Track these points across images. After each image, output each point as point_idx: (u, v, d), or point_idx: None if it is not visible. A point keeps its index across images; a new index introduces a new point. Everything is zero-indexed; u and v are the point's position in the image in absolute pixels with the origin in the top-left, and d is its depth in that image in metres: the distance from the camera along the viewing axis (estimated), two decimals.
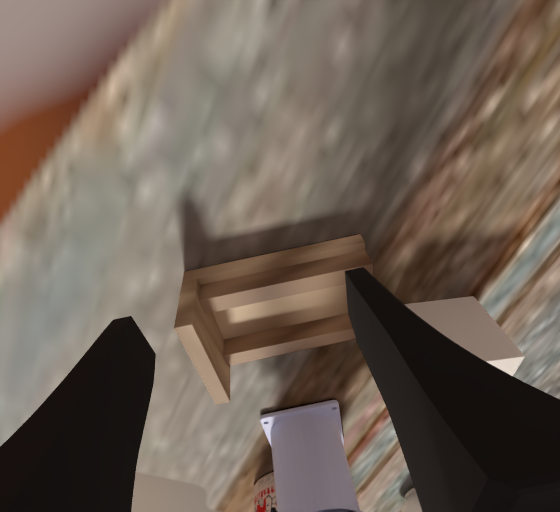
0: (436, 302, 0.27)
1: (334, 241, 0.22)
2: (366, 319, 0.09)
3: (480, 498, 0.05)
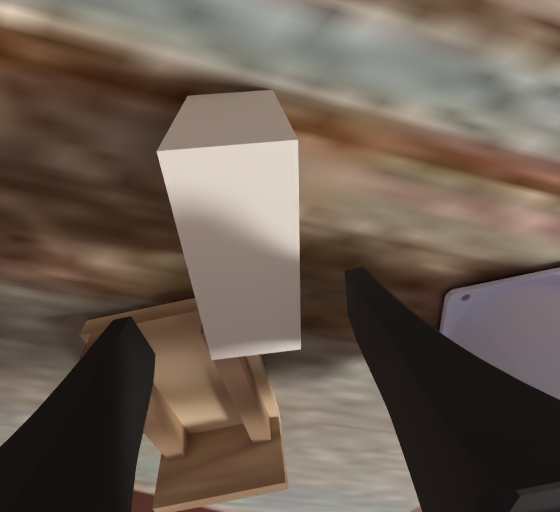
0: None
1: None
2: (366, 319, 0.09)
3: (480, 498, 0.05)
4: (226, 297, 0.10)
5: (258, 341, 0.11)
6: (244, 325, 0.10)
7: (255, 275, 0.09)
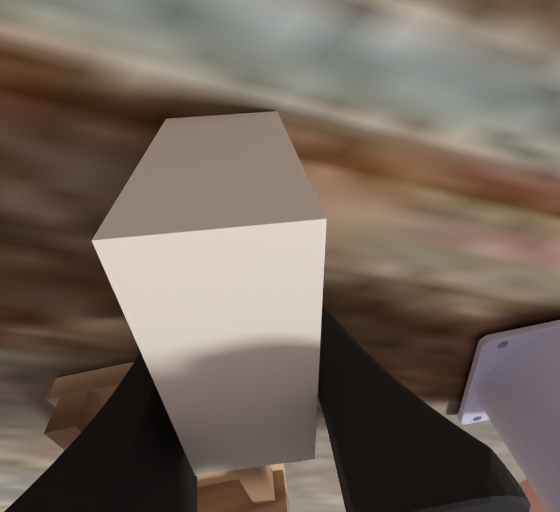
0: None
1: None
2: None
3: None
4: (213, 413, 0.07)
5: (257, 455, 0.08)
6: (239, 440, 0.08)
7: (254, 388, 0.06)
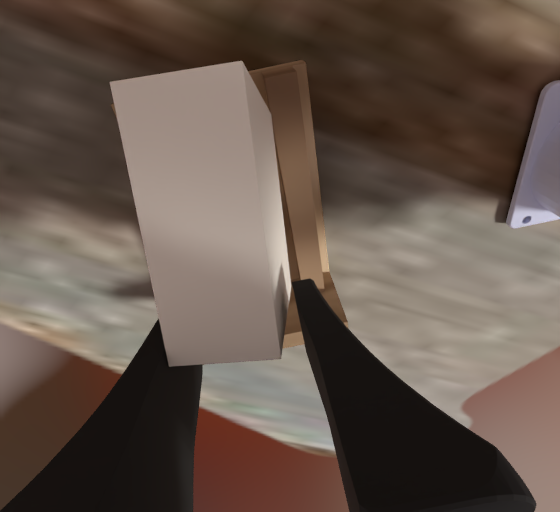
0: None
1: None
2: (305, 332, 0.09)
3: None
4: (182, 265, 0.08)
5: (223, 339, 0.09)
6: (205, 311, 0.09)
7: (212, 233, 0.08)
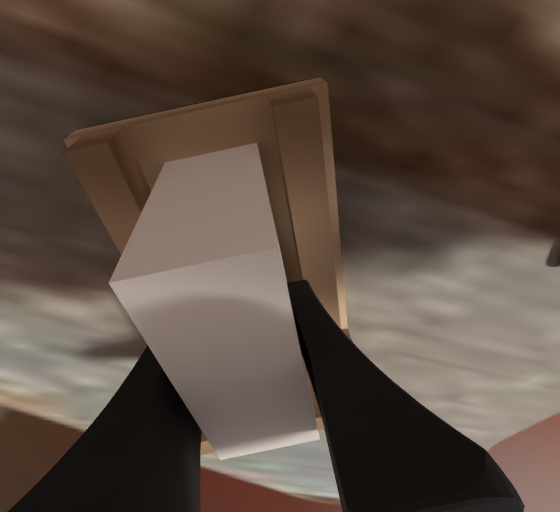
0: None
1: None
2: (300, 333, 0.09)
3: None
4: (224, 405, 0.08)
5: (269, 438, 0.10)
6: (250, 426, 0.09)
7: (252, 381, 0.08)
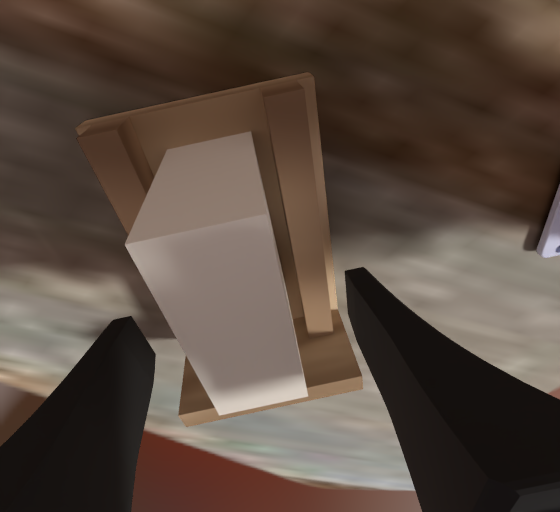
0: None
1: None
2: (366, 319, 0.09)
3: (480, 498, 0.05)
4: (222, 361, 0.10)
5: (263, 394, 0.11)
6: (246, 382, 0.10)
7: (247, 338, 0.09)
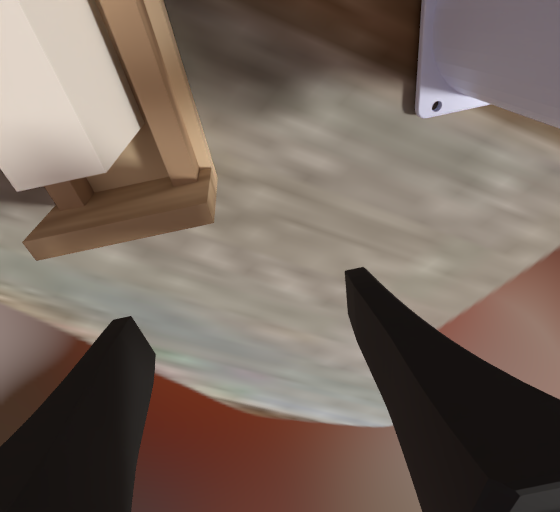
0: None
1: None
2: (366, 319, 0.09)
3: (480, 498, 0.05)
4: None
5: (53, 162, 0.11)
6: (26, 139, 0.10)
7: None
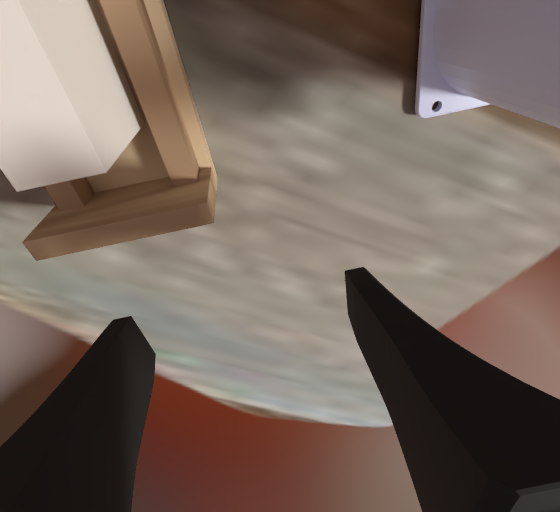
0: None
1: None
2: (366, 319, 0.09)
3: (480, 498, 0.05)
4: None
5: (53, 162, 0.11)
6: (26, 139, 0.10)
7: None
